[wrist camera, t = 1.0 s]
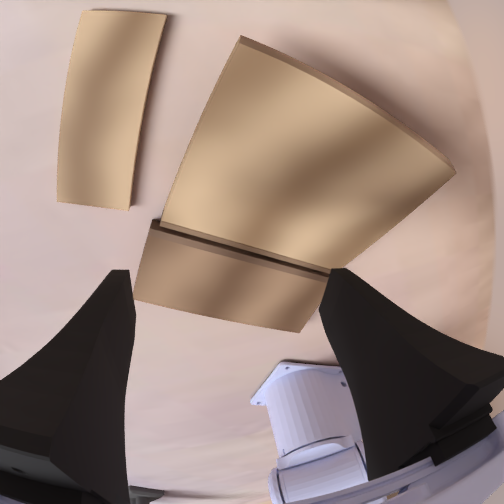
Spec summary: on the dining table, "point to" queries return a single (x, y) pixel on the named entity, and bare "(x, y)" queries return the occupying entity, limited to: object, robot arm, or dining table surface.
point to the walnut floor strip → (226, 281)
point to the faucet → (143, 495)
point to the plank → (105, 106)
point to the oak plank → (297, 165)
